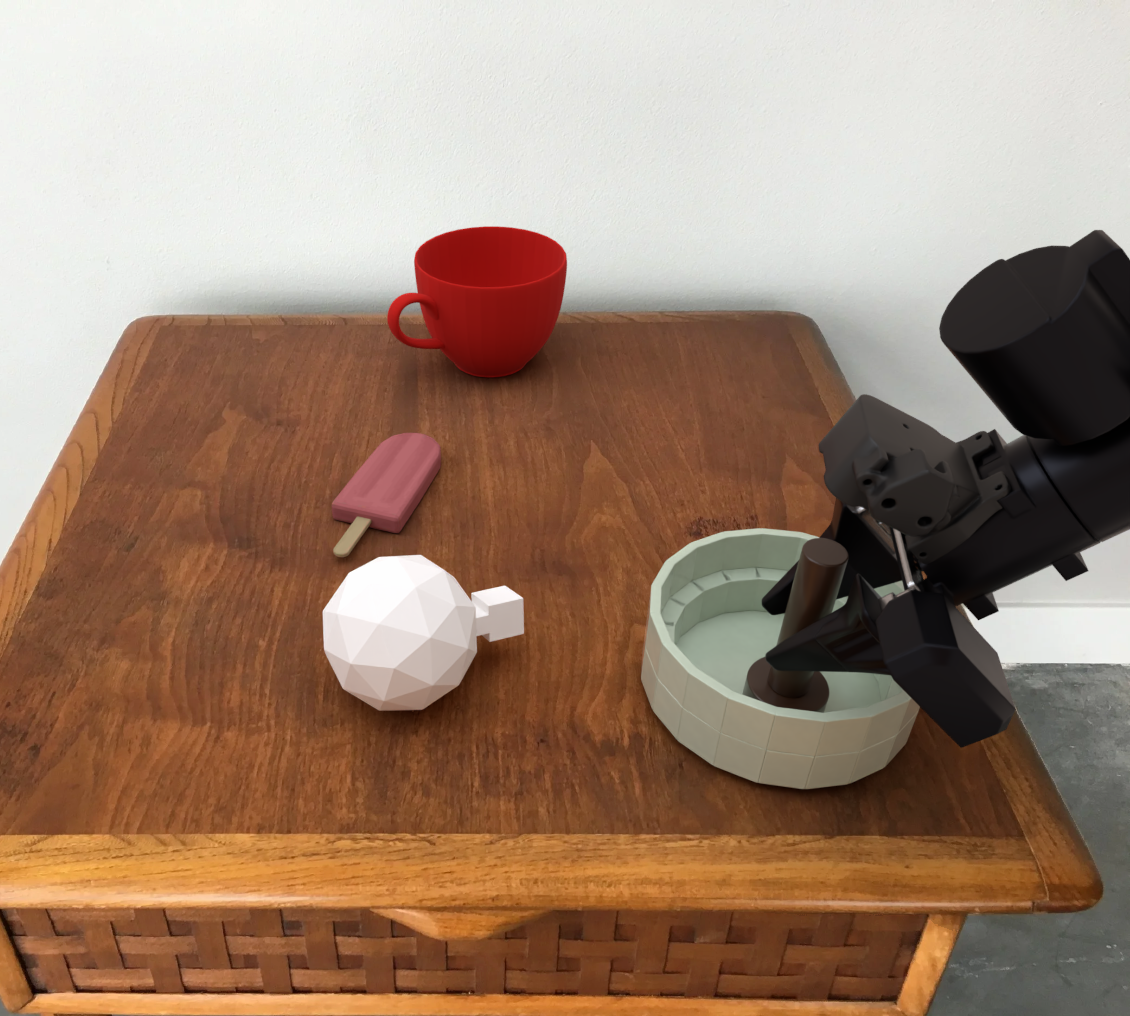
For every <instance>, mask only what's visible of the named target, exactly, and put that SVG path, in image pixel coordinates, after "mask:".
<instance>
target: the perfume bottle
mask: <svg viewBox="0 0 1130 1016" xmlns="http://www.w3.org/2000/svg"><path fill="white" fill-rule="evenodd" d="M524 605H525V604H524V597H522V596H521V595H519V593H517V592H515V591H514V590H512V589H511V588H509V587H508V586H507V585H501V586H497V587H492V588H487V589H483V590H478V591H474V592H471V598H470V597H469V596H468V594H467V593H466V591H465V589H463V587H462V586H461V585H460V583H459V582H458V580H457V579H456V578H455V576H453V575H452V574H450V573H449V572H447V570H445V569H444V568H442V567H440V566H439V565H437V564H436V563H435V562H433V561H431V560H430V559H428V558H426V557H425V556H424V555H422V554H410V555H408V554H407V555H390V556H378V557H376V558H374V559H373V560H370V561H368V562H367V563H364V564H363V565H360V566H358V567H357V568H355V569H354V570H352V571H349V572H348V573H347V575H346V576H345V578H344V579H343V581H342V582H341V584H340V585H339V587H337V589H336V591H335V592H334V594H333V595H332V597H331V598H330V599H329V601H328V603H327V604H326V605H325V607H324V609H323V610H322V632H323V650H324V651H323V652H324V653H325V656H326V659H327V661H328V662H329V665H330V666H331V668H332V670H333V672H334V674H335V676H336V678H337V680H338V682H339V684H340V686H341V688H342V689H343V690H344V691H345V692H347V693H349V694H350V695H352V696H354V697H355V698H357V699H359V700H361V701H362V702H364V703H366V704H367V705H369V706H371V707H372V708H374V709H375V710H377V711H382V712H383V711H422V710H425V709H426V708H427V707H428V706H430V705H432V704H433V703H435V702H436V701H437V700H440V699H441V698H442V697H443V696H445V695H446V694H448V693H449V692H451V691H452V690H454V689H455V688H457V687H458V686H460V684H461V682H462V680H463V679H464V677H465V675H466V673H467V671H468V669H469V668H470V666H471V664H472V663H473V660H474V658H475V657H476V655H477V653H478V643H477V642H478V641H477V640H478V639H477V637H480V636H482V637H483V638H484V639H485V640H487V641H488V642H489V643H491V642H496V641H499V640H503V639H508V638H512V637H517V636H520V635H524V634H525V624H524V623H525V613H524V608H525V607H524Z"/></svg>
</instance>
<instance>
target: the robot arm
mask: <svg viewBox="0 0 1130 1016" xmlns="http://www.w3.org/2000/svg"><path fill="white" fill-rule="evenodd" d="M938 328H939V329H938V330H939V338H940V340H941V342H942V343H943V345H944V346H945V347H946V348H947V350H948V351H949V352H950V353H951V354H952V355H953V357H954V358H955V359H956V361H957V362H958V363H959V364H960V365H961V366H962V368H963V369H964V370H965V371H966V372H967V374H968V375H969V376H970V377H971V379H972V380H973V381H974V382H975V383H976V384H977V386H978V387H979V388H980V389H981V390H982V391H983V393H984V394H985V395H986V397H987V398H988V399H989V400H990V402H992V404H993V406H995V407H996V408H997V410H998V411H999V412H1000V413H1001V414H1002V415H1003V417H1004V418H1005V419H1006V421H1007V422H1008V423H1009V424H1010V425H1011V426H1012V427H1013V429H1014V430H1016V431H1017V432H1019V433H1020V434H1021V436H1019V437H1017V438H1015V439H1013V440H1011V441H1010V442H1008V443H1007V442H1006V441H1005V439H1004V438H1003V437H1002V435H1001V434H1000V433H999V432H998V431H997V430H996V428H994V429H991V430H990V431H988V432H987V431H986V430H981V431H978V432H976V433H974V434H971V436H969V437H967V438H964V439H962V440H960V441H957V442H955V441H953V440H952V439H950V438H949V437H947V436H946V435H943V434H942V433H940V431H938V430H937V429H935V428H934V427H933V426H931V425H929V424H928V423H926V422H924V421H922V420H920V419H918V418H917V417H915V416H913V415H910V414H908V413H906V412H905V411H903V410H901V409H899V408H897V407H895V406H892V405H891V404H889V403H888V402H885V401H883V400H881V399H880V398H877V397H875V396H873V395H870V394H867V393H866V394H860V395H859V396H858V397H857V398H856V400H855V401H854V402H853V403H852V404H851V406H849V408H848V409H846V412H844V414H842V416H841V417H840V418H839V420H838V421H837V422H836V423H835V424H834V425H833V426H832V427H831V429H830V430H829V431H828V432H827V433H826V435H824V437H823V438H822V439H821V440H820V441H819V443H818V451H819V453H821V454H822V458H823V463H824V469H825V471H824V472H823V473H824V474H823V482H824V486H825V487H826V489H827V490H828V491H829V493H830V494H831V495H832V496H833V497H834V498H835V501H834V505H833V513H832V517H831V521H830V523H829V524H828V526H827V528H826V529H825V530H824V531H823V532H822V534H820V536H818V537H819V538H826V539H830V540H833V541H836V542H838V543H839V544H841V545H842V546H843V547H844V548H845V549H846V550H847V552H848V556H849V558H848V562H847V565H846V568H845V572H844V575H843V578H842V582H841V585H840V588H839V591H838V595H837V598H836V600H837V599H840V598H844V597H847V596H848V599H847V602H846V603H845V605H844V606H842V607H841V608H839V609H837V610H835V611H834V612H832V613H830V614H829V615H827V616H825V617H823V618H822V619H820V620H818V621H816V622H815V623H813V624H811V625H809V626H808V627H806V628H804V629H803V630H801V631H799V632H797V633H796V634H794V635H792V636H790V637H789V638H787V639H785V640H784V641H782V642H781V643H780V644H778V645H777V646H775V647H774V648H773V649H771V650H770V651H768V652H767V653H766V655H765V658H766V661H767V662H768V663H769V664H770V665H771V666H772V667H773V668H774V669H775V670H778V671H816V672H858V673H872V674H881V675H890V676H892V678H893V680H894V681H895V682H896V683H897V684H898V685H899V686H900V687H901V688H902V689H903V690H904V691H905V692H906V693H907V694H908V695H909V696H910V697H911V698H912V699H913V700H914V701H915V702H916V703H917V704H918V705H919V706H920V709H921V710H922V711H923V712H925V714H926V715H927V716H928V717H929V718H930V719H931V720H932V721H933V722H934V723H935V724H936V725H937V726H938V727H939V728H940V729H941V730H942V731H943V732H944V733H945V734H946V735H947V736H948V737H949V738H950V739H951V740H952V741H953V742H954V744H956V745H957V746H958V747H959V748H960V749H962V748H965V747H967V746H970V745H974V744H975V743H978V742H981V741H983V740H986V739H988V738H991V737H994V736H996V735H999V734H1001V733H1002V732H1004V731H1007V729H1008V726H1009V724H1010V722H1011V720H1012V718H1013V716H1014V713H1015V712H1016V710H1017V709H1016V706H1015V703H1014V700H1013V699H1014V698H1013V697H1012V693H1011V690H1010V688H1009V684H1008V681H1007V678H1006V675H1005V672H1004V669H1003V665H1002V662H1001V660H1000V656H999V654H998V651H996V650H995V648H994V647H993V646H992V645H991V644H990V643H989V642H988V641H987V640H986V639H985V638H984V636H983V635H982V634H981V633H980V632H979V631H978V630H977V629H976V627H974V625H973V624H972V623H971V622H970V621H969V620H968V619H967V618H966V617H965V616H964V615H963V613H961V612H960V610H959V609H958V608H957V607H958V606H960V605H964V607H965V608H966V609H967V610H968V611H969V612H970V613H971V614H972V616H973V617H974V618H975V619H976V620H977V621H980V620H982V619H985V618H988V617H989V616H991V615H994V614H996V613H999V612H1000V611H999V607H998V603H997V602H996V598H995V594H994V593H995V592H998V591H999V590H1002V589H1003V588H1006V587H1008V586H1010V585H1013V584H1014V583H1017V582H1019V581H1021V580H1023V579H1025V578H1028V577H1030V576H1032V575H1034V574H1036V573H1039V572H1041V571H1043V570H1045V569H1047V568H1049V567H1051V566H1052V567H1053V568H1054V569H1055V571H1056V572H1057V573H1058V574H1059V575H1060V576H1061V577H1062V578H1063V579H1064V581H1065V582H1067V581H1070V580H1072V579H1075V578H1076V577H1079V576H1081V575H1083V574H1085V573H1087V572H1089V568H1088V566H1087V565H1086V562H1085V560H1084V558H1083V556H1082V554H1081V553H1082V552H1085V551H1086V550H1088V549H1091V548H1093V547H1096V546H1097V545H1099V544H1101V543H1103V542H1106V541H1108V540H1111V539H1112V538H1114V537H1116V536H1119V535H1121V534H1123V533H1125V532H1127V531H1130V257H1129V255H1127V253H1126V252H1125V250H1124V249H1123V247H1121V246H1120V245H1119V244H1118V243H1117V242H1116V241H1115V240H1113V239H1112V237H1110V236H1109V235H1108V233H1106V231H1104V230H1103V229H1094V230H1092V231H1091V232H1089V233H1088V234H1086V235H1085V236H1083V237H1082V238H1080V239H1078V240H1077V241H1076V242H1074V243H1073V244H1071V245H1070V246H1069V245H1046V246H1041V247H1036V248H1033V249H1029V250H1027V251H1024V252H1023V251H1022V252H1020V253H1018V254H1015V255H1013V256H1012V257H1010V258H1007V259H1004V258H999V259H997V260H995V261H993V262H992V263H990V264H988V265H987V266H986V267H984V268H983V269H981V270H980V271H979V272H978V273H976V274H975V275H974V276H972V277H971V278H969V280H968V281H966V283H965V284H964V285H963V286H962V287H961V288H960V289H959V290H958V291H957V292H956V293H955V294H954V296H953V297H952V299H951V300H950V301H949V302H948V304H947V306H946V308H945V309H944V311H943V314H942V315H941V318H940V323H939V327H938ZM798 562H799V560H798V561H797V562H796V563H795V565H794V566H793V567H792V568H791V569H790V570H789V571H788V572H787V573H786V574H785V575H784V576H783V577H782V578H781V579H780V580H779V581H778V582H777V583H776V584H775V586H774V587H773V588H772V589H771V590H770V591H769V592H768V593H767V594H766V595H765V596H764V597H763V598H762V601H761V602H762V607H763V608H764V609H765V610H766V611H767V612H768V613H769V614H771V615H779V614H783V613H785V611H786V607H787V603H788V600H789V596H790V592H791V588H792V585H793V581H794V577H795V573H796V570H797V566H798ZM923 573H924V575H925V576H926V578H924V576H923ZM899 581H902V582H903V586H904V591H903V592H901V593H899V594H897V595H895V594H894V593H893V592H892V593H889V594H887V595H885V596H883V597H881V596H880V595H879V594H878V593H877V592H876V591H875V590H874V589H875V588H879V587H882V586H885V585H889V584H892V583H896V582H899Z"/></svg>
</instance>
